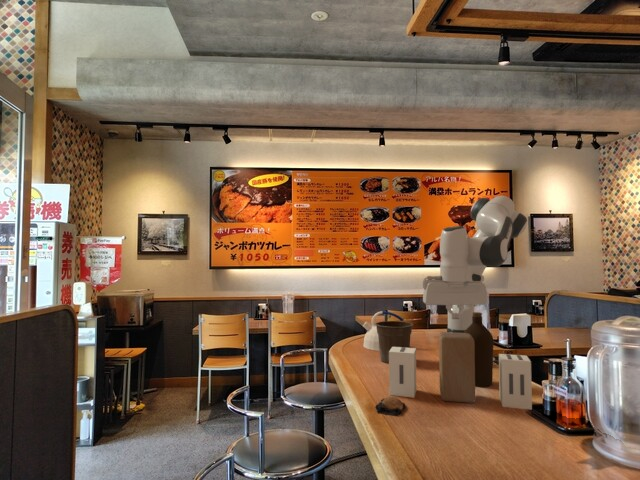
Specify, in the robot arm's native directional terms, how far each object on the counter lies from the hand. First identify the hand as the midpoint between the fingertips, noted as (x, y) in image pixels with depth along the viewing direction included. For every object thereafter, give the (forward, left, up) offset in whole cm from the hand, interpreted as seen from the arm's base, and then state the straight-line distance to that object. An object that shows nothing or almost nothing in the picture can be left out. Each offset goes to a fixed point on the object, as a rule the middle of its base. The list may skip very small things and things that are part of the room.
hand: (455, 318), depth 133 cm
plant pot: (-14, -47, -25) cm, 55 cm away
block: (0, 0, -25) cm, 25 cm away
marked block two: (-12, +13, -25) cm, 30 cm away
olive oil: (-19, -7, -25) cm, 32 cm away
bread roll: (+24, -3, -26) cm, 36 cm away
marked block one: (+11, -12, -25) cm, 30 cm away
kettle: (-28, -72, -25) cm, 81 cm away
